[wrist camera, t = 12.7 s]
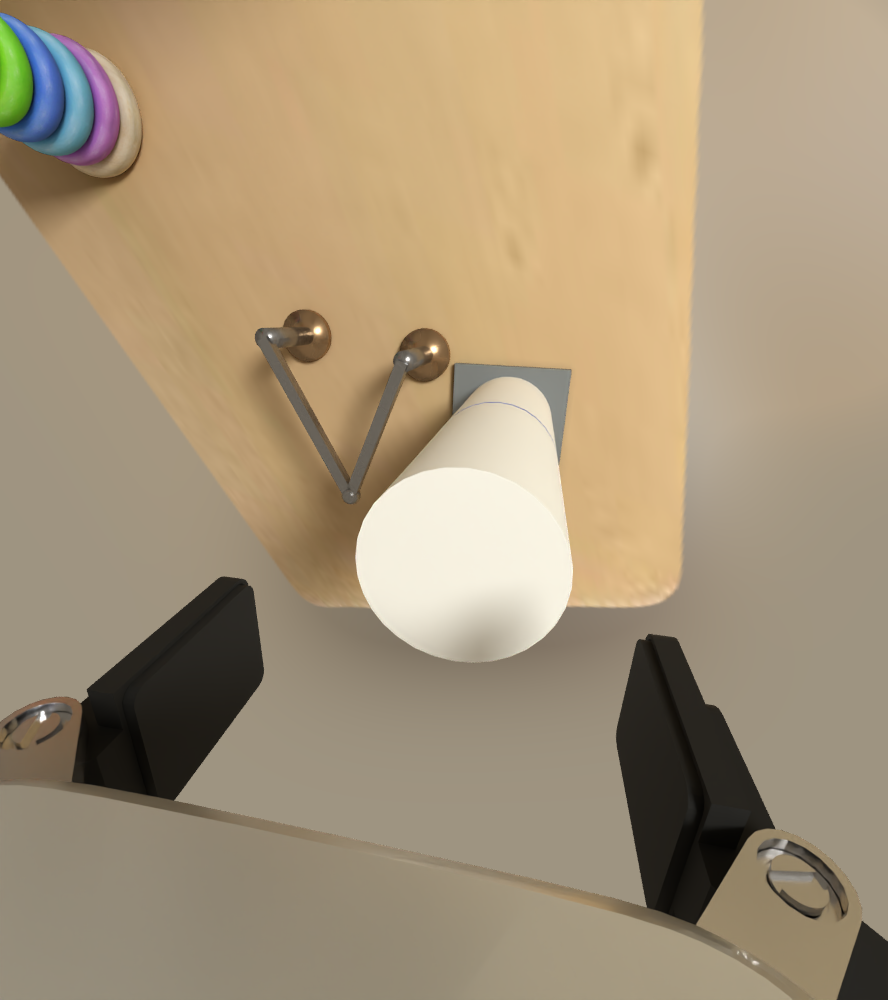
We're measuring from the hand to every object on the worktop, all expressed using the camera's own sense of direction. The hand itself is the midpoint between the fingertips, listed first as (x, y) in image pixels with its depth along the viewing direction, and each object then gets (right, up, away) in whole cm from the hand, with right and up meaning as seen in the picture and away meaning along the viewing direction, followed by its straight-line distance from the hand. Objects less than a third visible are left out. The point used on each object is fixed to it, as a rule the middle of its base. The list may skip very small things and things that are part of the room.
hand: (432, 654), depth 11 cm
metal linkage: (-5, +12, +29) cm, 32 cm away
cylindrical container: (+5, +10, +27) cm, 30 cm away
